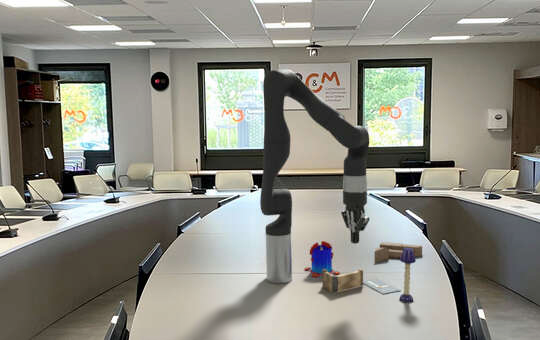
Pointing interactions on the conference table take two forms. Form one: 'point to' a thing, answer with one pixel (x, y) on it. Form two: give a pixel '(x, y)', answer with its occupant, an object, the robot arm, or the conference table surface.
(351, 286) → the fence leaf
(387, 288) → the card
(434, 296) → the conference table surface
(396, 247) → the wooden block set
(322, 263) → the fantasy tower
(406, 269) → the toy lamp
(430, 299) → the conference table surface
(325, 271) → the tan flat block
